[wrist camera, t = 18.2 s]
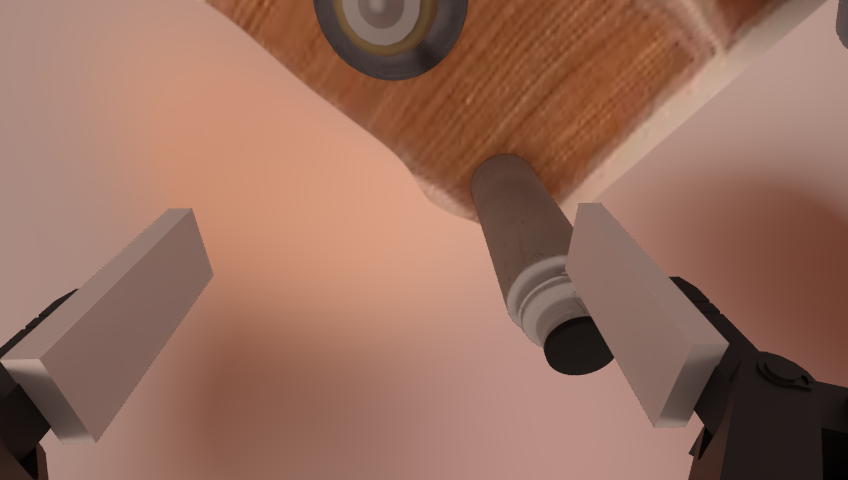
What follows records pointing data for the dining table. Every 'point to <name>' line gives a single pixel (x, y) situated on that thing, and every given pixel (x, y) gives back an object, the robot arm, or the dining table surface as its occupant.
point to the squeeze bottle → (386, 23)
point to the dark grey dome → (406, 63)
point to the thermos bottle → (536, 264)
